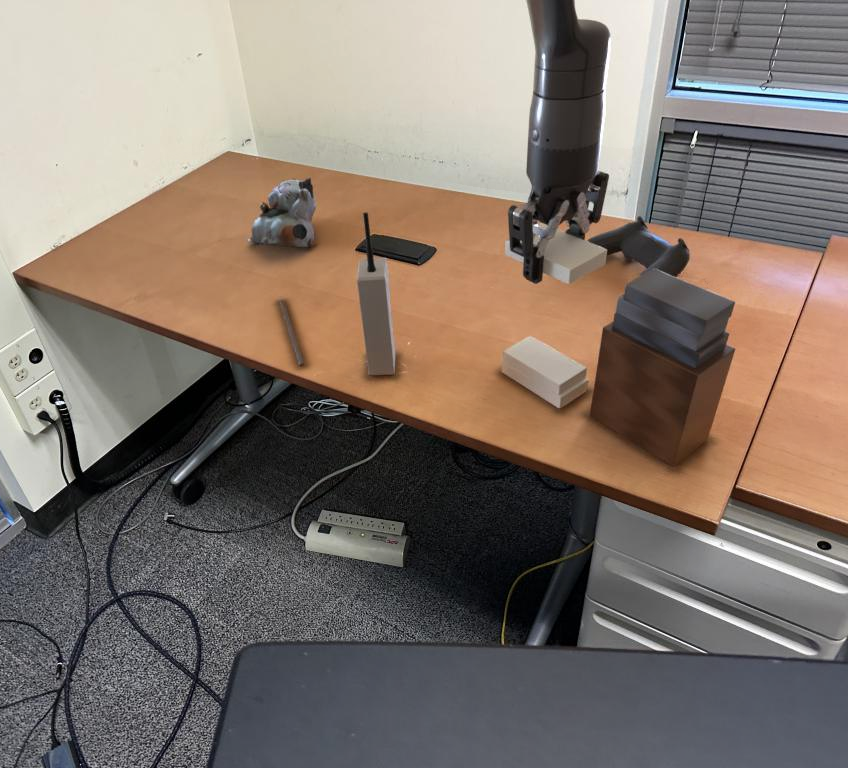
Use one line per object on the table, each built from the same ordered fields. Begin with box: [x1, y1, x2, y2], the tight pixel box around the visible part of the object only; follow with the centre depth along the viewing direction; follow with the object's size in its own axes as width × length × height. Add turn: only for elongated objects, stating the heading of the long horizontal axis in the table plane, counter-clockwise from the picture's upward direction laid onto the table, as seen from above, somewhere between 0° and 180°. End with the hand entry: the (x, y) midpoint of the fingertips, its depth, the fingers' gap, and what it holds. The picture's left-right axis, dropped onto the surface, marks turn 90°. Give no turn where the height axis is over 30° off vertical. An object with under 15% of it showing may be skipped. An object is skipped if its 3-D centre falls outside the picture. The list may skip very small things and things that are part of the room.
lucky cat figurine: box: [246, 177, 317, 248], centre depth 132 cm, size 15×12×14 cm
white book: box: [504, 222, 607, 285], centre depth 81 cm, size 10×6×2 cm, turn 34°
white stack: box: [501, 335, 590, 409], centre depth 93 cm, size 10×5×4 cm, turn 34°
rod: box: [279, 300, 305, 367], centre depth 111 cm, size 1×19×1 cm, turn 12°
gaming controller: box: [586, 215, 691, 278], centre depth 111 cm, size 17×6×10 cm
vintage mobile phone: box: [356, 212, 396, 376], centre depth 94 cm, size 4×5×25 cm
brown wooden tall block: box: [589, 268, 736, 467], centre depth 79 cm, size 12×7×20 cm, turn 34°
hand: (553, 269), depth 83 cm, fingers closed on white book, 6 cm apart
